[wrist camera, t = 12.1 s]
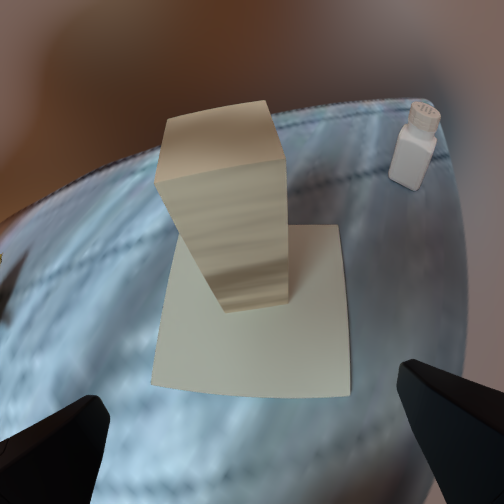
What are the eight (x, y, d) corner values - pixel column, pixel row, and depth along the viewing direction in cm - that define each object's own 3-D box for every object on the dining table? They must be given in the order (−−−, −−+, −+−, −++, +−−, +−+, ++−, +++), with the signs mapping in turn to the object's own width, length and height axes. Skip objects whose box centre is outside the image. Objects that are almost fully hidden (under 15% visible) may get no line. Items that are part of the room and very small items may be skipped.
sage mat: (348, 396, 17) (350, 395, 17) (153, 385, 19) (150, 384, 19) (337, 228, 25) (337, 224, 25) (182, 230, 27) (180, 227, 27)
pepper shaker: (385, 179, 28) (404, 107, 20) (395, 161, 30) (411, 95, 22) (416, 194, 27) (442, 125, 19) (423, 176, 28) (446, 111, 20)
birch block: (288, 303, 22) (285, 158, 10) (225, 313, 22) (154, 183, 10) (278, 250, 24) (265, 100, 12) (220, 259, 24) (167, 119, 13)
